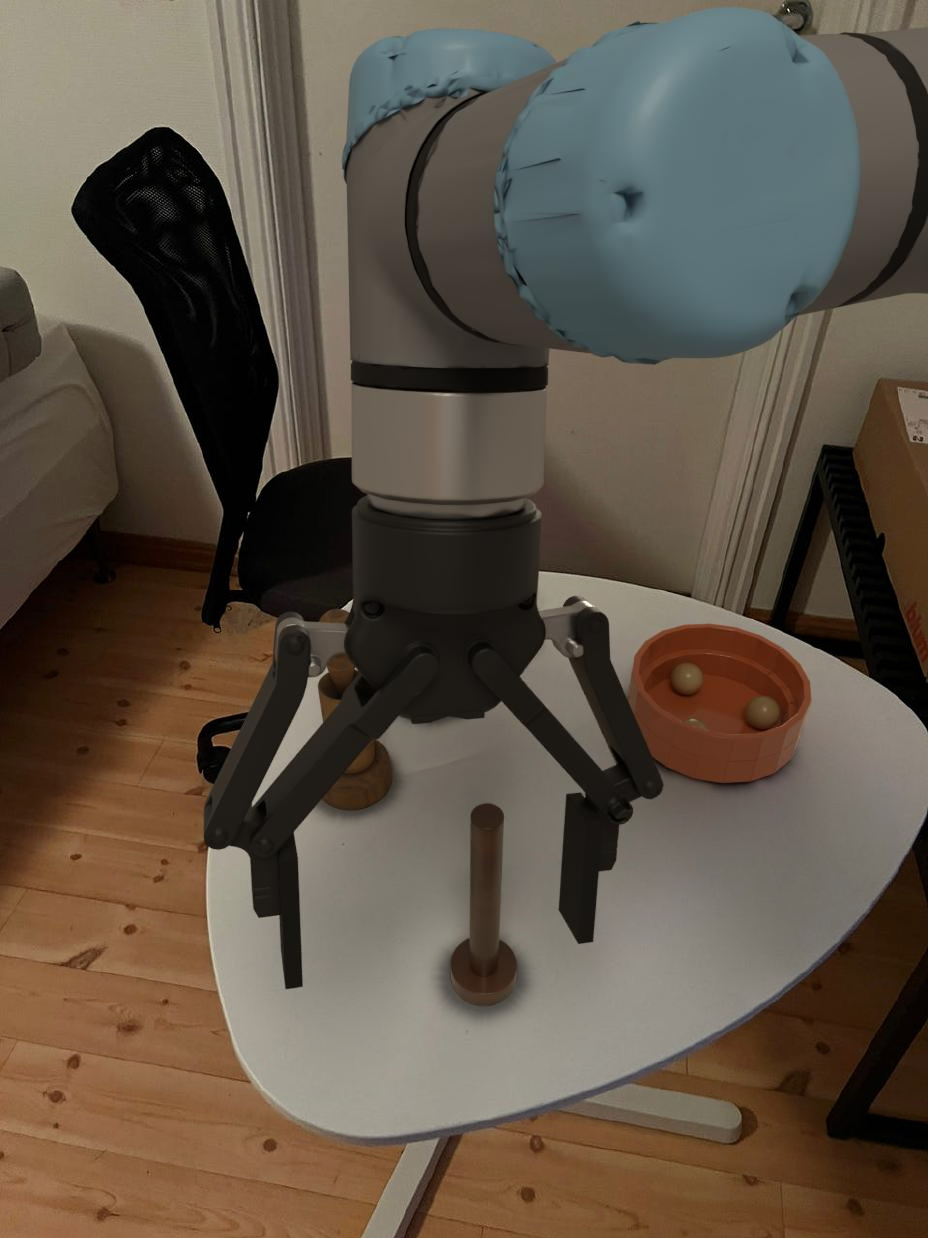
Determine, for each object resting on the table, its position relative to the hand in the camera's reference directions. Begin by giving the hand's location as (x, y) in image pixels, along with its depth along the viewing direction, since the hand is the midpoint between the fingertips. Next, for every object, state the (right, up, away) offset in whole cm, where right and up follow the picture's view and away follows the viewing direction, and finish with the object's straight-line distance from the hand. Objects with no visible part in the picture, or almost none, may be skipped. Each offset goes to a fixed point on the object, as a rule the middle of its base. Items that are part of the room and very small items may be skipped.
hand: (438, 947), depth 44 cm
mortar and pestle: (-8, +1, +36) cm, 37 cm away
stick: (+3, -10, +22) cm, 24 cm away
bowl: (+24, +6, +42) cm, 48 cm away
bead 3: (+28, +7, +40) cm, 49 cm away
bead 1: (+22, +10, +43) cm, 50 cm away
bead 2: (+21, +5, +38) cm, 43 cm away
